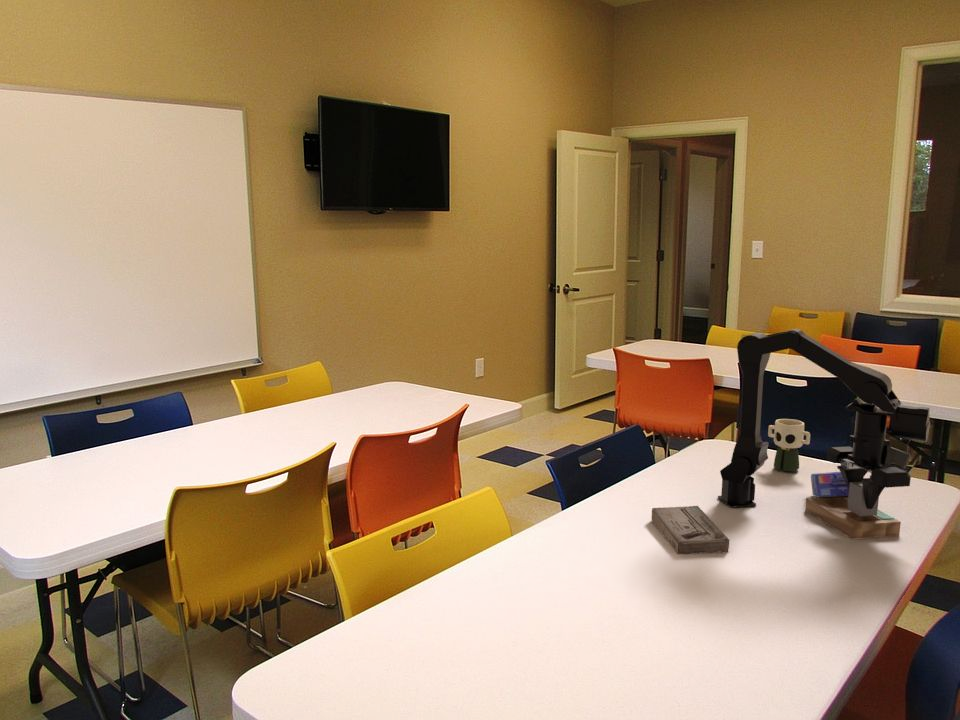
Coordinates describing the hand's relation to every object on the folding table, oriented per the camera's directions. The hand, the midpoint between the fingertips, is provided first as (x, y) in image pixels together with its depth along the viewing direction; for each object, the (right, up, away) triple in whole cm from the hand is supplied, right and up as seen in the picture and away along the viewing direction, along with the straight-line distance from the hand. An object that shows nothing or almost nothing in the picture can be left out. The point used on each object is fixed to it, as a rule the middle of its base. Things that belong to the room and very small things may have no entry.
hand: (862, 505), depth 156 cm
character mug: (0, +1, +40) cm, 40 cm away
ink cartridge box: (+4, +1, +20) cm, 21 cm away
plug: (0, -2, 0) cm, 2 cm away
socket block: (-1, -5, +5) cm, 7 cm away
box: (-37, -7, -2) cm, 38 cm away
